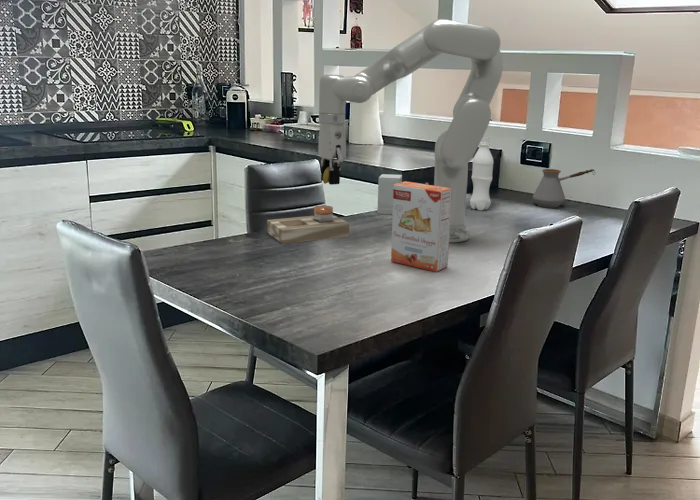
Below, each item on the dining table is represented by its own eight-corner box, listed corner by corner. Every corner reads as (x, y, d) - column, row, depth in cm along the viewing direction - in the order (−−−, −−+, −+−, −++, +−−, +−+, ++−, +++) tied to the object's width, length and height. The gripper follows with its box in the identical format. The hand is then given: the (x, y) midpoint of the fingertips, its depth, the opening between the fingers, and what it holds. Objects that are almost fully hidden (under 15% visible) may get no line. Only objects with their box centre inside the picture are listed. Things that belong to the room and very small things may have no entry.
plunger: (335, 223, 203) (335, 208, 202) (318, 225, 201) (318, 210, 200) (328, 219, 208) (328, 204, 207) (311, 220, 206) (311, 206, 205)
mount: (349, 236, 202) (349, 223, 201) (282, 243, 193) (282, 230, 192) (331, 226, 213) (331, 213, 212) (267, 233, 205) (267, 220, 204)
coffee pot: (526, 205, 247) (530, 164, 242) (539, 200, 255) (543, 160, 251) (584, 214, 234) (589, 171, 229) (596, 209, 242) (601, 167, 238)
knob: (324, 185, 196) (324, 168, 195) (321, 181, 201) (321, 165, 200) (340, 185, 197) (340, 168, 196) (337, 181, 202) (337, 165, 200)
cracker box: (389, 262, 178) (392, 183, 172) (402, 257, 182) (405, 180, 177) (436, 273, 170) (440, 190, 164) (448, 267, 174) (452, 187, 168)
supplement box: (398, 215, 229) (399, 178, 226) (376, 213, 231) (377, 177, 227) (401, 210, 236) (402, 174, 233) (380, 209, 238) (381, 173, 234)
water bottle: (489, 207, 243) (494, 136, 236) (491, 211, 236) (496, 139, 229) (468, 206, 244) (473, 136, 237) (470, 210, 237) (474, 138, 230)
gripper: (356, 122, 188) (354, 187, 193) (331, 116, 203) (330, 176, 208) (331, 122, 185) (329, 188, 190) (308, 116, 200) (307, 177, 205)
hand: (330, 181), depth 199 cm, fingers closed on knob, 5 cm apart
